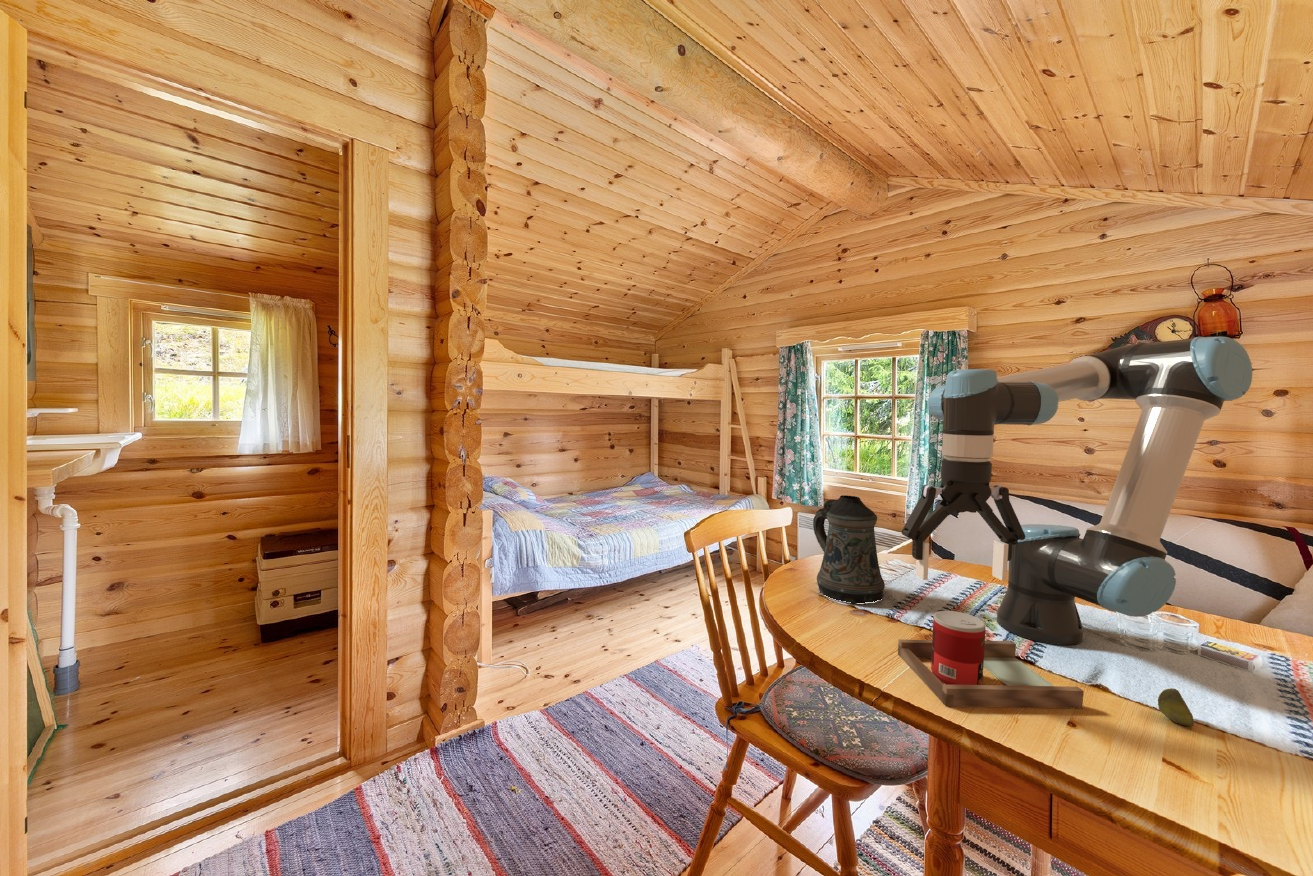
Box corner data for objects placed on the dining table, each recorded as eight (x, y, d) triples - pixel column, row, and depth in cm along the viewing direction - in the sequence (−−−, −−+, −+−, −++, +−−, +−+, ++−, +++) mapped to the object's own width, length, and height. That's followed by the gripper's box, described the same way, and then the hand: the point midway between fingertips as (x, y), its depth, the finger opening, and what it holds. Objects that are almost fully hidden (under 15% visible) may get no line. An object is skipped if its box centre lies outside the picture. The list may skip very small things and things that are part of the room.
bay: (1010, 655, 99) (1011, 641, 99) (1082, 708, 82) (1083, 690, 82) (897, 654, 99) (898, 639, 99) (945, 706, 82) (946, 688, 82)
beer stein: (877, 610, 120) (882, 507, 118) (797, 593, 130) (799, 498, 129) (889, 589, 134) (892, 496, 132) (815, 575, 144) (817, 488, 142)
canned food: (990, 693, 86) (993, 631, 85) (939, 687, 88) (942, 626, 87) (971, 670, 94) (974, 612, 93) (925, 665, 95) (927, 608, 94)
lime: (1169, 711, 81) (1172, 681, 81) (1206, 730, 77) (1209, 698, 76) (1147, 713, 81) (1149, 683, 80) (1183, 733, 76) (1185, 701, 76)
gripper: (1023, 457, 91) (1016, 571, 93) (884, 455, 92) (880, 569, 93) (1055, 462, 84) (1047, 586, 85) (904, 460, 84) (899, 584, 86)
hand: (960, 578), depth 89 cm, fingers open, 13 cm apart
